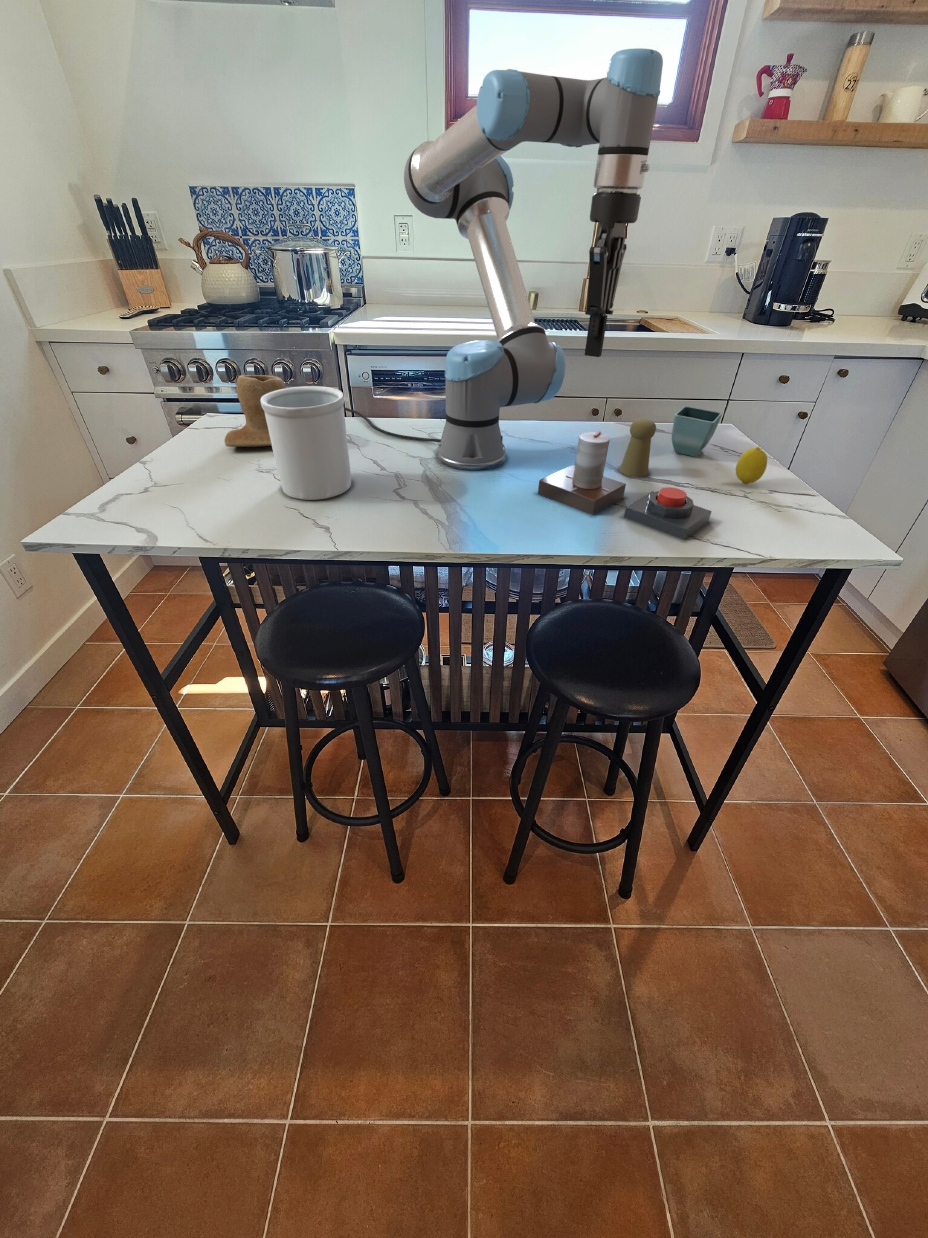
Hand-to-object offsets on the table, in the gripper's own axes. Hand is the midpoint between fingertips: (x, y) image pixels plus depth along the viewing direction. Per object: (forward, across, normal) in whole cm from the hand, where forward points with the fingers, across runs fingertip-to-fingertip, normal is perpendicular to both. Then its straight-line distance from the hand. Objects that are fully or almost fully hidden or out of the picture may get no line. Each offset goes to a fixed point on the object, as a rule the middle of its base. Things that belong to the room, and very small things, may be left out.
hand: (592, 355), depth 100 cm
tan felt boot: (+25, -17, +71) cm, 77 cm away
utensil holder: (+25, -30, +44) cm, 59 cm away
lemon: (+25, +17, -32) cm, 44 cm away
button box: (+24, -8, -21) cm, 33 cm away
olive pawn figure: (+25, +12, -9) cm, 29 cm away
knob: (+21, -6, -5) cm, 23 cm away
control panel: (+24, -6, -4) cm, 25 cm away
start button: (+21, -8, -21) cm, 30 cm away
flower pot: (+25, +30, -18) cm, 43 cm away
